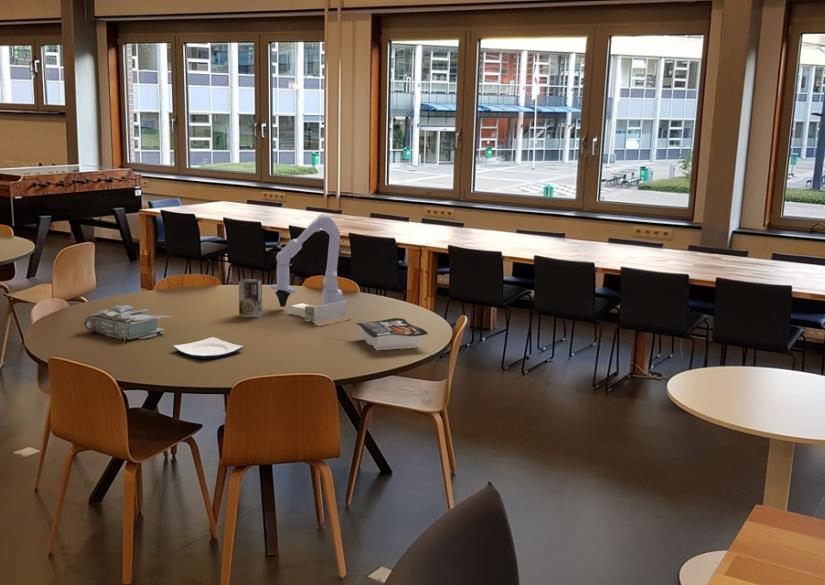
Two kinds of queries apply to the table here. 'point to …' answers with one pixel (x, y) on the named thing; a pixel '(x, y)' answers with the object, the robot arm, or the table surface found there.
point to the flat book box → (298, 309)
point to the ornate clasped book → (124, 323)
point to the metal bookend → (329, 311)
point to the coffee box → (250, 298)
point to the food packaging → (391, 334)
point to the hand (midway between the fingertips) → (282, 306)
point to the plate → (208, 348)
